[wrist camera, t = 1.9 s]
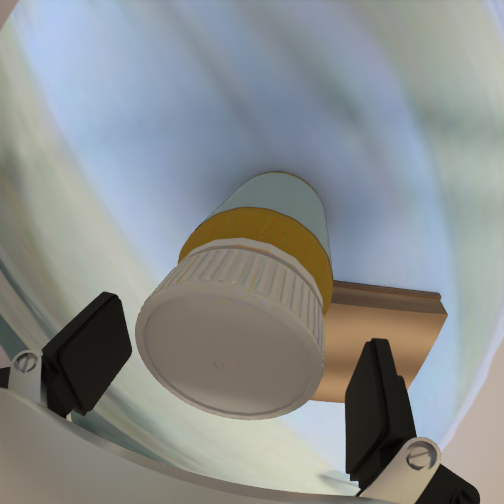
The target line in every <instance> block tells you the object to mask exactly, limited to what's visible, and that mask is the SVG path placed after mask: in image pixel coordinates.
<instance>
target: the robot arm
mask: <svg viewBox="0 0 504 504" xmlns="http://www.w3.org/2000/svg"><path fill="white" fill-rule="evenodd" d="M42 352H43V355H42V356H40V354H39V353H38V352H37V351H34V350H26V351H22V352H20V353H19V354H17V355H16V356H15V357H14V359H13V360H12V363H11V367H6V368H1V369H0V504H480V495H479V493H478V491H477V489H476V488H475V487H474V486H472V485H471V484H469V483H468V482H466V481H465V480H463V479H462V478H461V477H459V476H458V475H456V474H455V473H453V472H452V471H450V470H449V469H447V468H446V467H445V466H443V465H441V464H440V462H441V452H440V449H439V447H438V446H437V444H436V443H435V442H433V441H432V440H430V439H428V438H425V437H417V435H416V430H415V425H414V420H413V415H412V410H411V406H410V401H409V397H408V393H407V389H406V385H405V381H404V378H403V377H402V376H401V375H397V371H396V367H395V363H394V359H393V355H392V352H391V348H390V344H389V341H388V339H382V338H372V339H371V341H370V342H369V341H366V343H365V345H364V347H363V350H362V353H361V355H360V358H359V360H358V363H357V365H356V368H355V370H354V373H353V375H352V377H351V380H350V382H349V384H348V387H347V389H346V392H345V423H346V474H350V481H359V488H360V490H359V491H358V492H357V493H356V494H355V495H354V496H340V495H323V494H308V493H297V492H288V491H280V490H272V489H265V488H259V487H253V486H247V485H242V484H237V483H232V482H227V481H223V480H218V479H214V478H210V477H206V476H203V475H199V474H195V473H192V472H188V471H185V470H182V469H178V468H175V467H172V466H169V465H166V464H163V463H160V462H158V461H155V460H152V459H149V458H147V457H144V456H142V455H139V454H137V453H134V452H132V451H129V450H127V449H125V448H122V447H120V446H118V445H115V444H113V443H111V442H109V441H107V440H105V439H103V438H100V437H98V436H96V435H94V434H92V433H90V432H88V431H87V430H85V429H83V428H81V427H79V426H77V425H75V424H74V423H72V422H71V413H70V412H71V411H72V410H74V411H75V412H77V413H79V414H80V415H82V416H85V415H86V413H87V412H88V411H91V410H92V409H93V408H94V406H95V405H96V403H97V402H98V400H99V399H100V398H101V396H102V395H103V393H104V392H105V391H106V389H107V388H108V386H109V385H110V384H111V382H112V381H113V379H114V378H115V377H116V375H117V374H118V373H119V371H120V370H121V368H122V367H123V366H124V364H125V363H126V362H127V360H128V359H129V358H130V356H131V354H132V346H131V342H130V338H129V334H128V330H127V325H126V321H125V316H124V312H123V307H122V302H121V300H120V299H119V297H118V296H117V295H116V294H113V293H109V292H102V293H101V294H100V295H99V296H98V297H97V298H95V299H94V300H93V301H92V302H91V303H90V304H89V305H88V306H87V307H86V308H85V309H83V310H82V311H81V312H80V313H79V314H78V315H77V316H76V317H75V318H74V319H73V320H72V321H71V322H69V323H68V324H67V325H66V326H65V327H64V328H63V329H62V330H61V331H60V332H59V333H58V334H57V335H56V336H55V337H54V338H53V339H52V340H51V341H50V342H49V343H48V344H47V345H46V346H45V347H44V348H43V349H42Z"/></svg>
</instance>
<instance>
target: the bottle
mask: <svg viewBox="0 0 504 504" xmlns="http://www.w3.org/2000/svg"><path fill="white" fill-rule="evenodd" d="M332 292H333V272H332V263H331V255H330V247H329V239H328V232H327V224H326V217H325V213H324V209H323V205H322V202H321V200H320V198H319V196H318V195H317V193H316V192H315V190H314V189H313V188H312V187H311V186H310V185H309V184H307V183H306V182H305V181H304V180H303V179H301V178H299V177H296V176H294V175H291V174H289V173H284V172H268V173H264V174H260V175H257V176H255V177H253V178H252V179H250V180H249V181H247V182H246V183H244V184H243V185H242V186H241V187H240V188H239V189H238V190H236V191H235V192H234V193H233V194H232V195H231V196H230V197H229V198H228V199H227V200H226V201H225V202H223V203H222V204H221V205H220V206H219V207H218V208H217V209H216V210H215V211H214V212H213V213H212V214H211V215H210V216H209V217H208V218H207V219H206V220H204V221H203V222H202V223H201V224H200V225H199V226H198V227H197V228H196V229H195V231H194V232H193V233H192V234H191V235H190V237H189V238H188V240H187V241H186V243H185V244H184V246H183V247H182V249H181V252H180V255H179V260H178V264H177V266H176V267H175V268H174V269H173V270H172V271H171V272H170V273H169V274H168V275H167V276H166V278H165V279H164V280H163V281H162V282H161V283H160V284H159V286H158V287H157V288H156V289H155V290H154V291H153V293H152V294H151V295H150V296H149V297H148V298H147V300H146V301H145V302H144V305H143V306H142V307H141V311H140V313H139V314H138V318H137V321H136V327H135V338H136V344H137V348H138V351H139V354H140V356H141V358H142V360H143V362H144V364H145V365H146V367H147V368H148V370H149V371H150V373H151V374H152V375H153V376H154V377H155V379H156V380H157V381H158V382H159V383H160V384H161V385H162V386H163V387H165V388H166V389H167V390H168V391H169V392H171V393H172V394H173V395H175V396H176V397H178V398H179V399H181V400H182V401H184V402H186V403H188V404H189V405H191V406H193V407H196V408H198V409H200V410H203V411H205V412H208V413H211V414H214V415H218V416H222V417H226V418H232V419H240V420H262V419H270V418H275V417H279V416H282V415H285V414H288V413H290V412H292V411H294V410H296V409H298V408H299V407H301V406H302V405H304V404H305V403H306V402H307V401H308V400H309V399H310V398H311V397H312V396H313V395H314V393H315V392H316V390H317V389H318V387H319V384H320V382H321V378H322V377H323V370H324V368H325V324H324V317H325V315H326V313H327V312H328V310H329V307H330V304H331V298H332Z"/></svg>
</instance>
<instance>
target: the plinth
mask: <svg viewBox="0 0 504 504" xmlns="http://www.w3.org/2000/svg"><path fill="white" fill-rule="evenodd" d="M440 299H441V295H440V294H439V293H432V292H424V291H415V290H406V289H398V288H389V287H381V286H373V285H365V284H357V283H349V282H341V281H334V280H333V292H332V298H331V304H330V307H329V310H328V312H327V313H326V315H325V317H324V324H325V368H324V370H323V377H322V378H321V382H320V384H319V387H318V389H317V390H316V392H315V393H314V395H313V396H312V397H311V398H310V399H309V400H315V401H325V402H338V403H345V392H346V389H347V387H348V384H349V382H350V380H351V377H352V375H353V373H354V370H355V368H356V365H357V363H358V360H359V358H360V355H361V353H362V350H363V347H364V345H365V343H366V341H369V342H370V341H371V339H372V338H382V339H388V341H389V344H390V348H391V352H392V355H393V359H394V363H395V367H396V371H397V375H401V376H402V377H403V378H404V381H405V385H406V389H408V388H409V386H410V385H411V383H412V381H413V380H414V378H415V376H416V375H417V373H418V371H419V370H420V368H421V366H422V365H423V363H424V361H425V359H426V357H427V356H428V354H429V352H430V350H431V348H432V346H433V344H434V342H435V340H436V339H437V337H438V335H439V333H440V331H441V328H442V326H443V324H444V322H445V320H446V318H447V316H448V314H447V312H446V310H445V308H444V307H443V305H442V303H441V301H440Z"/></svg>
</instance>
